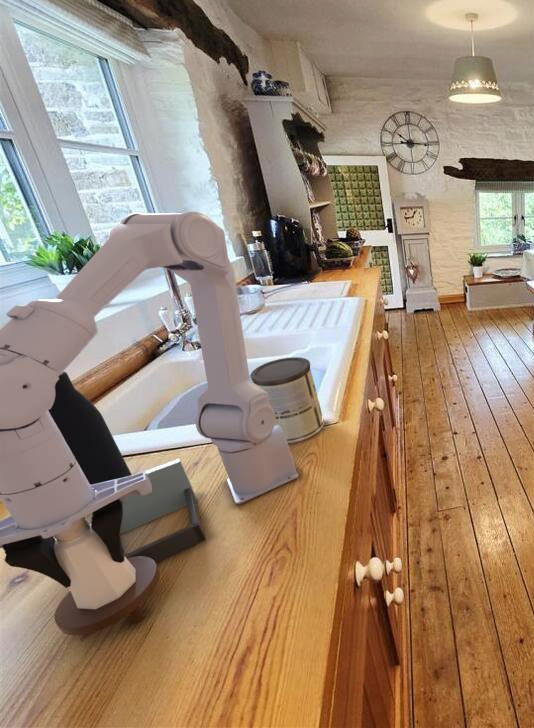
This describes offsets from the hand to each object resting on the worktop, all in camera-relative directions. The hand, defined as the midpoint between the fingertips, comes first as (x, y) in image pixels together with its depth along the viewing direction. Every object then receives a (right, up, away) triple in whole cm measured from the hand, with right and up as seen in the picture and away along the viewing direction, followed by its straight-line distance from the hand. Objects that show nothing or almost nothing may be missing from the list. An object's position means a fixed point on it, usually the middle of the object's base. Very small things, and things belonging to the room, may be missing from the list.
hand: (95, 568), depth 47 cm
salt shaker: (0, -3, +1) cm, 4 cm away
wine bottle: (-19, 0, +22) cm, 29 cm away
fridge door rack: (-4, -3, +13) cm, 14 cm away
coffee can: (+4, +8, +38) cm, 39 cm away
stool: (0, -7, +3) cm, 7 cm away
